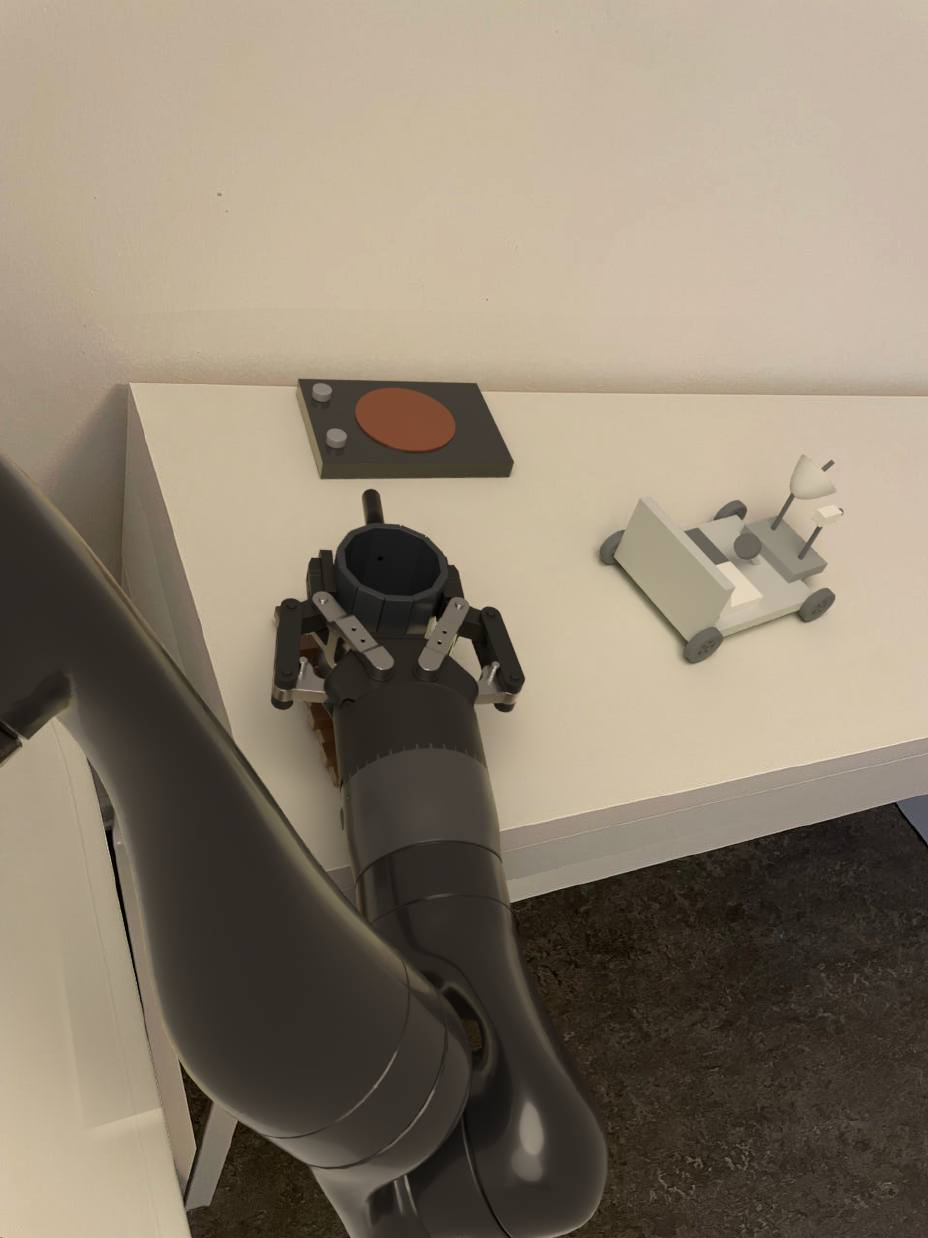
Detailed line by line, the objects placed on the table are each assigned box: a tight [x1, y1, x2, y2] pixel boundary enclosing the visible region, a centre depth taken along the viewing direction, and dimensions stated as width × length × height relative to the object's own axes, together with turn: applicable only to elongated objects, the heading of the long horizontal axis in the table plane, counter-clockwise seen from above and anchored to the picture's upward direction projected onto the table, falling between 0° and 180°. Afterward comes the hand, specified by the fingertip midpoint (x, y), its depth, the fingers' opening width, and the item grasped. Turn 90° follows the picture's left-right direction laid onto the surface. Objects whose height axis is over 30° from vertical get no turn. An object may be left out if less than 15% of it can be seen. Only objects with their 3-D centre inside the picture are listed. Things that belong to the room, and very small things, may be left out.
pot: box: [316, 488, 448, 678], centre depth 64 cm, size 12×6×9 cm, turn 10°
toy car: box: [598, 453, 844, 664], centre depth 79 cm, size 18×10×12 cm
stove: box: [295, 378, 515, 480], centre depth 86 cm, size 16×11×2 cm
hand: (380, 563), depth 62 cm, fingers closed on pot, 6 cm apart
